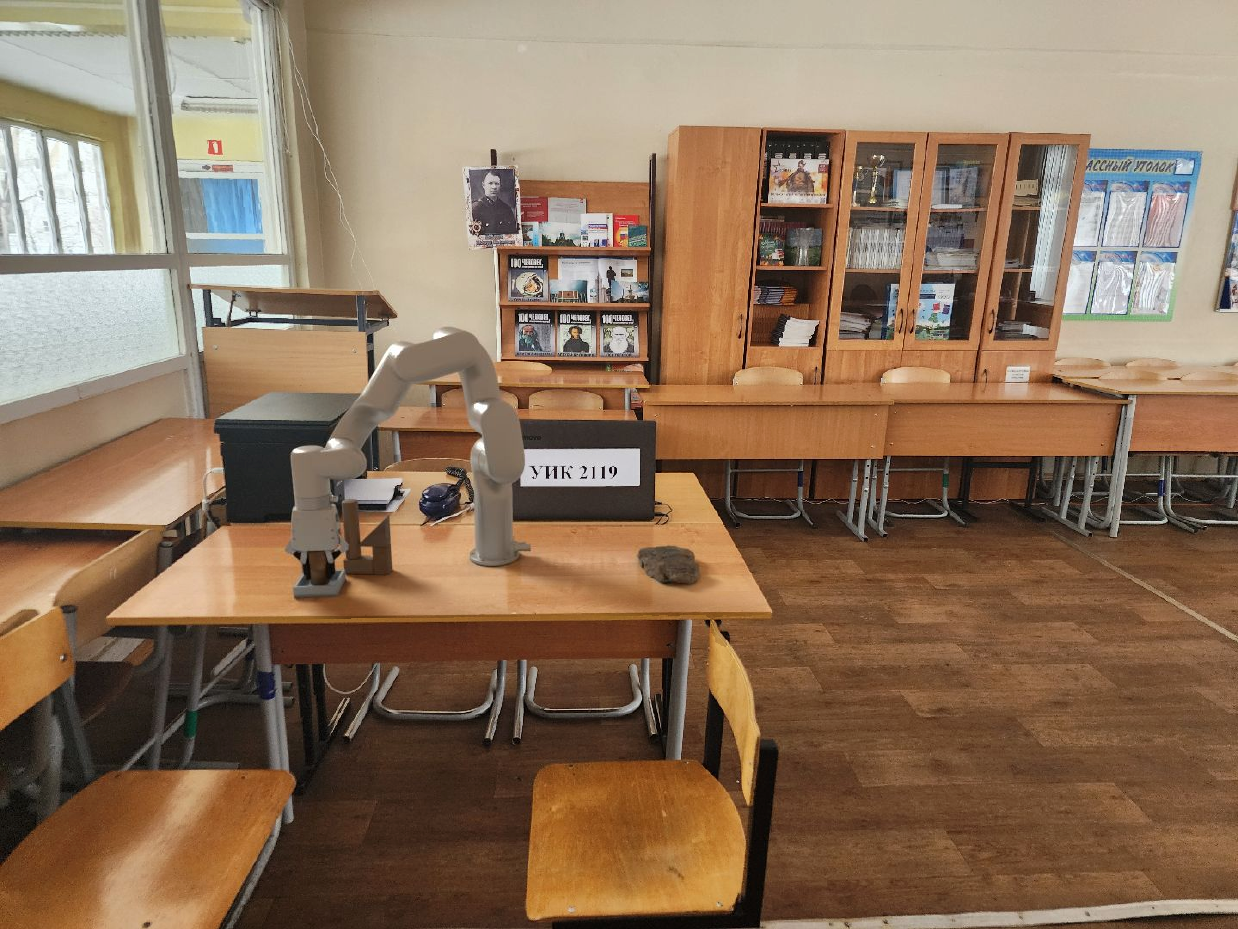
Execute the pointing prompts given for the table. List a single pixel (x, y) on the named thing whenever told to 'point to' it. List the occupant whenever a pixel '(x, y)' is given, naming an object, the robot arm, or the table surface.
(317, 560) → the dowel
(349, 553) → the wooden blocks
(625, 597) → the table surface
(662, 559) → the grey rock
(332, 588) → the tray
